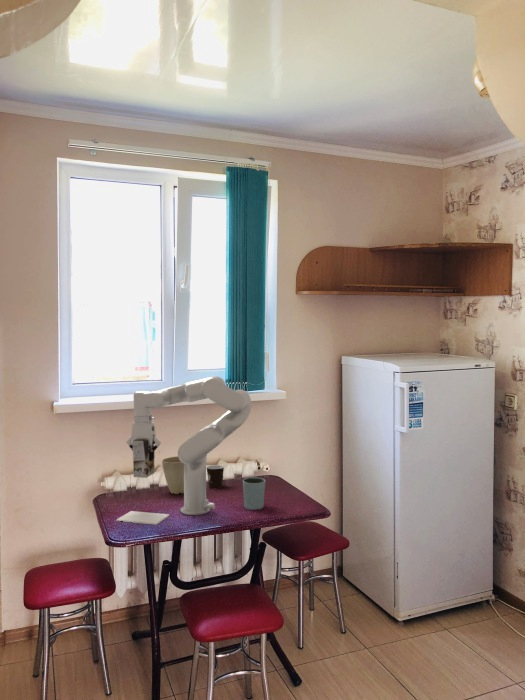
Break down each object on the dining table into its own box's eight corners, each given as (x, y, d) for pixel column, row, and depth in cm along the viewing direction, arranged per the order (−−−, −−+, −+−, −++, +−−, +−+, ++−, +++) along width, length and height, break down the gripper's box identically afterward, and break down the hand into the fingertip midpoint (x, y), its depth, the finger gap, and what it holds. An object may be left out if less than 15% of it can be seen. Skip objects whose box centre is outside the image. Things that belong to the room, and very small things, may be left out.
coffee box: (147, 478, 247) (146, 440, 246) (133, 477, 248) (132, 440, 247) (155, 472, 255) (154, 436, 255) (141, 472, 257) (140, 436, 256)
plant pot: (185, 486, 289) (185, 454, 289) (198, 493, 277) (197, 460, 276) (157, 490, 282) (157, 458, 281) (169, 497, 269) (168, 464, 269)
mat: (169, 515, 242) (169, 514, 242) (156, 524, 231) (156, 523, 231) (130, 512, 247) (130, 511, 247) (116, 521, 236) (116, 519, 236)
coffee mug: (206, 484, 292) (206, 465, 292) (223, 484, 293) (223, 464, 293) (207, 491, 280) (206, 470, 280) (224, 490, 281) (224, 470, 281)
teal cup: (249, 502, 261) (249, 476, 260) (269, 505, 256) (269, 478, 256) (238, 508, 252) (238, 481, 251) (259, 511, 247) (259, 483, 247)
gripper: (164, 418, 252) (165, 459, 253) (129, 417, 257) (130, 457, 257) (157, 421, 245) (158, 462, 245) (120, 420, 250) (121, 461, 250)
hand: (143, 459), depth 251 cm, fingers closed on coffee box, 6 cm apart
